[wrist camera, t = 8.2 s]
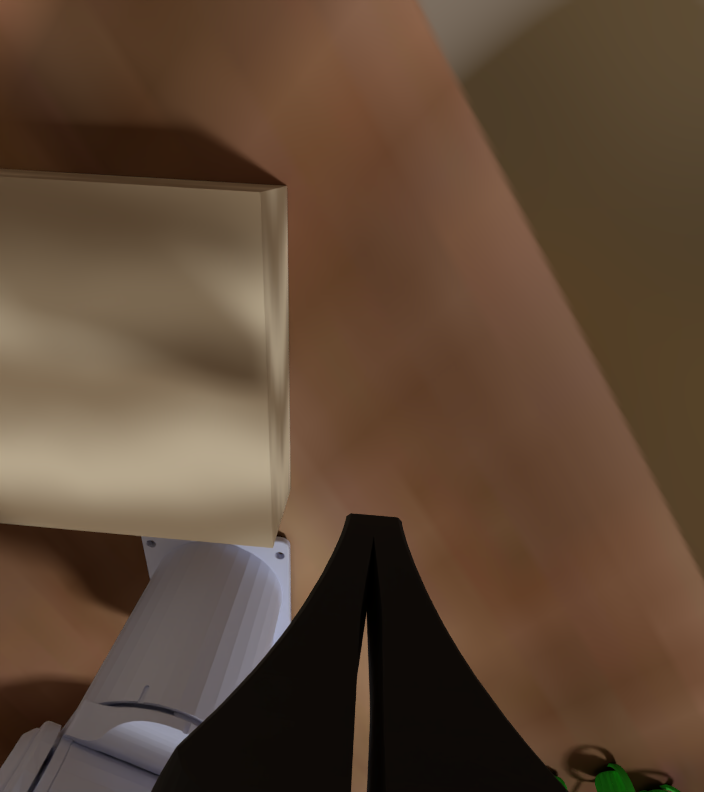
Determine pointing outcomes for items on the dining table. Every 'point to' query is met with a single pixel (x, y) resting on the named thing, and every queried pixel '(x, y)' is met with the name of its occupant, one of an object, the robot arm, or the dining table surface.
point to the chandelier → (618, 781)
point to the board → (144, 356)
